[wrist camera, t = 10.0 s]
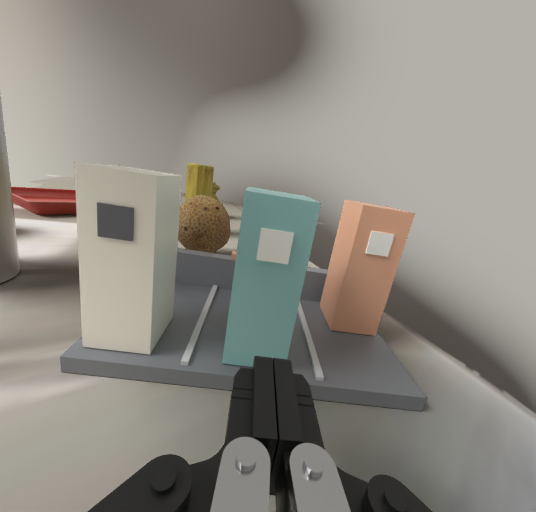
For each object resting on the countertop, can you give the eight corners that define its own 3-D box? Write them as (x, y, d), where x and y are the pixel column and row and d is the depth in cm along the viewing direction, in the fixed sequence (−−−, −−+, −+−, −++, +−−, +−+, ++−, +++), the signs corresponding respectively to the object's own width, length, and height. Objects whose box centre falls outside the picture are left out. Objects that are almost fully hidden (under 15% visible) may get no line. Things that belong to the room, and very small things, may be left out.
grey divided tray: (421, 411, 19) (448, 346, 18) (61, 371, 17) (55, 296, 16) (352, 310, 34) (364, 269, 32) (151, 282, 32) (152, 238, 30)
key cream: (149, 356, 18) (156, 176, 15) (81, 348, 18) (72, 162, 14) (172, 317, 23) (182, 175, 20) (119, 310, 23) (119, 165, 19)
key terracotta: (376, 336, 26) (415, 213, 22) (330, 331, 25) (364, 205, 22) (357, 310, 31) (387, 206, 27) (319, 305, 30) (345, 199, 27)
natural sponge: (156, 255, 41) (159, 189, 38) (192, 245, 49) (197, 190, 46) (206, 271, 38) (213, 201, 35) (235, 257, 46) (243, 200, 43)
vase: (184, 227, 61) (188, 162, 57) (210, 231, 62) (217, 167, 58) (177, 233, 56) (182, 161, 51) (207, 237, 56) (214, 167, 52)
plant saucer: (87, 202, 73) (87, 189, 72) (125, 215, 64) (125, 202, 63) (-4, 201, 58) (-6, 185, 57) (29, 219, 49) (27, 201, 48)
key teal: (284, 372, 19) (321, 203, 15) (221, 364, 19) (245, 190, 15) (279, 331, 24) (306, 196, 20) (229, 325, 23) (248, 186, 20)
